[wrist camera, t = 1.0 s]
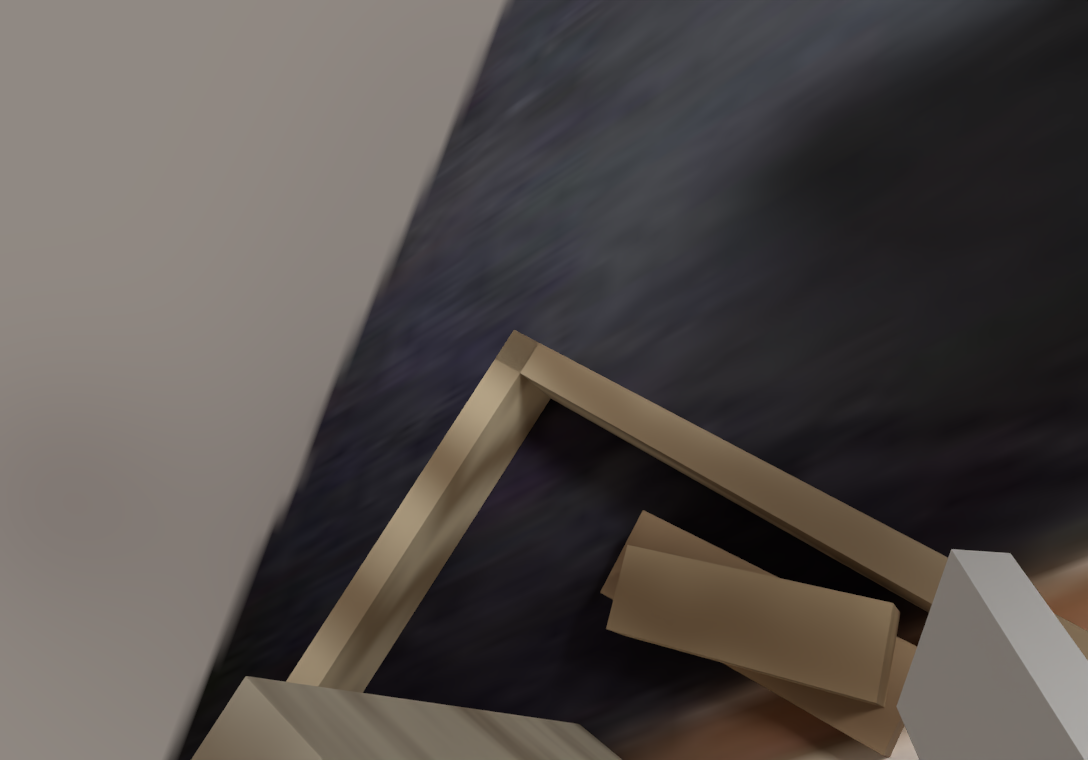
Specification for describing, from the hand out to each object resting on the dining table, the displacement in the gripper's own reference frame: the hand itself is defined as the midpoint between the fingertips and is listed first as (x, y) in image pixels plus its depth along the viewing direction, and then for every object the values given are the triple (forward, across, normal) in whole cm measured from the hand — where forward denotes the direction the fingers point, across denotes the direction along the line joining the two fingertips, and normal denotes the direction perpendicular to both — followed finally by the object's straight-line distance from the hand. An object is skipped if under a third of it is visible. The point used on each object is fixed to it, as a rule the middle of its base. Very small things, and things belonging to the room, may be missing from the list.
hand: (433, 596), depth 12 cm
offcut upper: (+15, +10, -13) cm, 22 cm away
